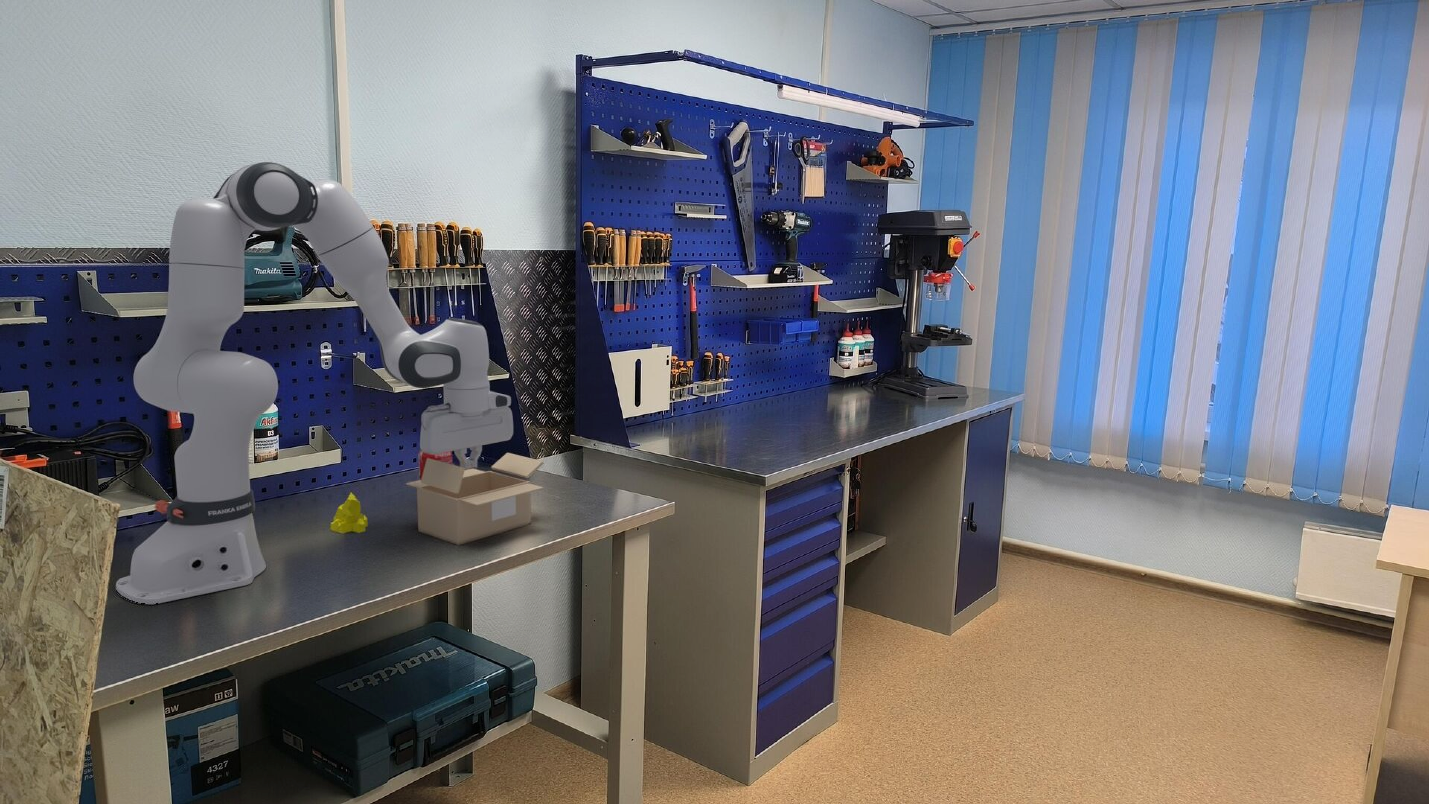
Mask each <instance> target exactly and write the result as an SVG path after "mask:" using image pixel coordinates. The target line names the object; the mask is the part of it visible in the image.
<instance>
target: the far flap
mask: <svg viewBox="0 0 1429 804" xmlns="http://www.w3.org/2000/svg"><path fill="white" fill-rule="evenodd" d="M544 464H545V463H544V461H543V460H540V459H535V458H531V457H527V456H522V455H519V454H514V453H511V452H506V453H505V454H504V455H503V456H501V457H500V459H498V460H497V461H495V463H494V464H493V465H491V469H492V470H494V471H496V472H497V471H499V472H502V473H505V474H509V475H512V476H516V477H522V478H525V479H529V478H530V477H531V476H532V475H533V474H535V472H536V471H538V470H539V469H540V468H541V467H542V466H543V465H544Z"/></svg>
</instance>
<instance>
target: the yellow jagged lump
mask: <svg viewBox="0 0 1429 804" xmlns="http://www.w3.org/2000/svg"><path fill="white" fill-rule="evenodd" d="M361 503H362V502H360V501H359V499H358V498H357V497H356V496H355V495H354V493H352V492H350V494H349V495H348V497H347V499H346V500H345V502H344V503H343V504H341V505H340V506H338V507H337V510H336V513H335V516H334V517H333V522H330V531H333V532H336V533H339V534H346V533H349V532H354V533H357V534H360V533H363V532H366V527H369V523H368V518H367V517H366V515H365V514H363V513H362V512H361V511H362V507H361Z"/></svg>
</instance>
